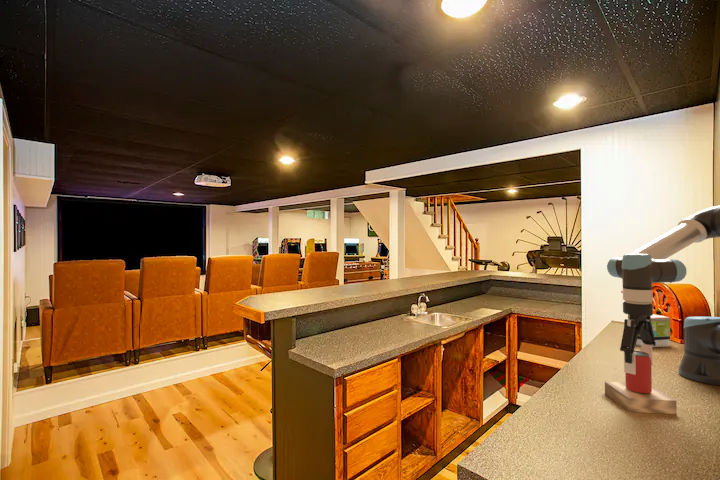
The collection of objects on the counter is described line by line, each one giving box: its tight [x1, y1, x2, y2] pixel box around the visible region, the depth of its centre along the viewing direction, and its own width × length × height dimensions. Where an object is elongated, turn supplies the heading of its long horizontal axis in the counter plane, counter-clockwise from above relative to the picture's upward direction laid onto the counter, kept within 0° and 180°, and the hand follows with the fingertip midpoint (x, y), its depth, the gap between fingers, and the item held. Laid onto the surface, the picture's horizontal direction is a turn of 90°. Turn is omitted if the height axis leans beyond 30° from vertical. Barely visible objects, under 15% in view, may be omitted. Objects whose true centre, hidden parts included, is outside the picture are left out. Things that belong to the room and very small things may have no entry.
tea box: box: [627, 313, 671, 348], centre depth 177 cm, size 15×10×15 cm, turn 102°
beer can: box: [624, 349, 653, 394], centre depth 112 cm, size 7×7×12 cm
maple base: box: [604, 381, 678, 415], centre depth 112 cm, size 13×13×4 cm
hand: (638, 368), depth 112 cm, fingers open, 13 cm apart
